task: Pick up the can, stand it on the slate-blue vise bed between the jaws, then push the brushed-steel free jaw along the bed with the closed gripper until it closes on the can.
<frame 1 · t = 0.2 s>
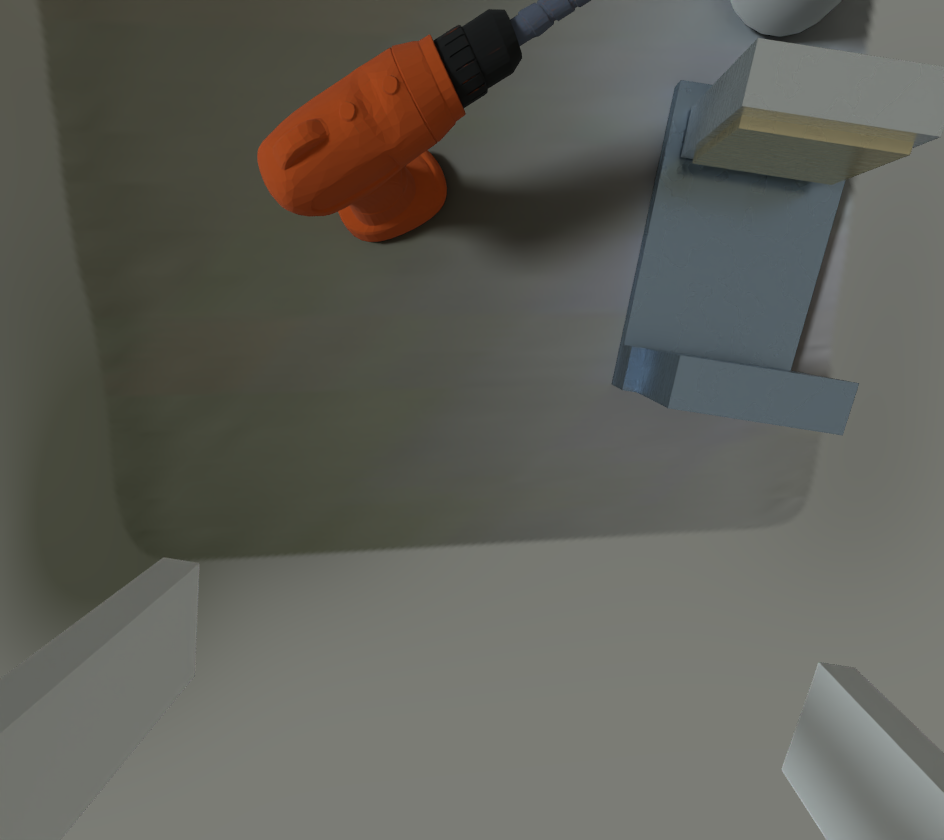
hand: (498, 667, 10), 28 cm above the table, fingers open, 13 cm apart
free jaw: (798, 125, 28), point 5 cm above the table, slide at 0.0 cm
toy drill: (451, 169, 34), on the table
vise bed: (725, 257, 35), on the table
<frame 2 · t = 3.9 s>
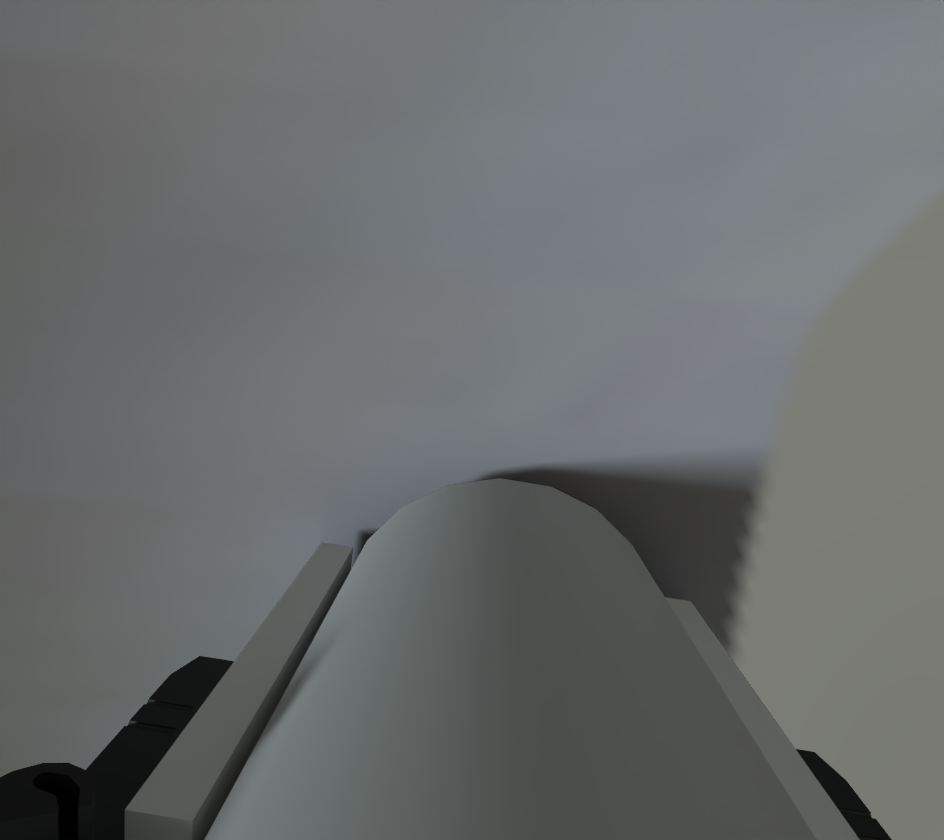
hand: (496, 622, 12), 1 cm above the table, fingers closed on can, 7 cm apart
can: (496, 602, 13), on the table, touching gripper
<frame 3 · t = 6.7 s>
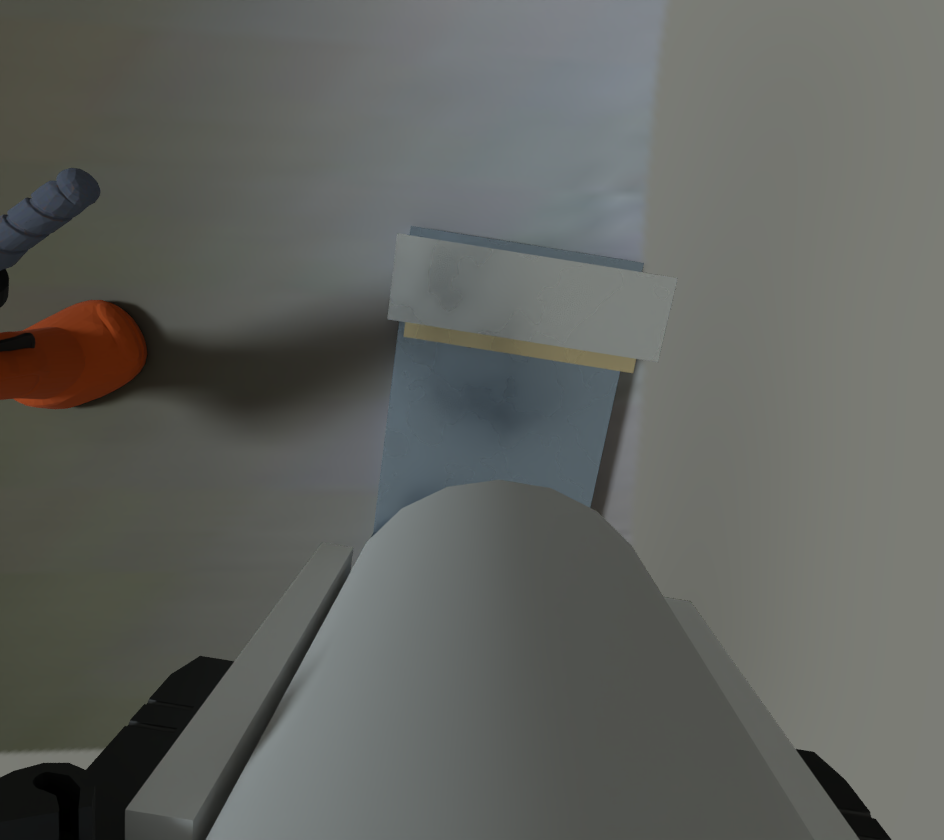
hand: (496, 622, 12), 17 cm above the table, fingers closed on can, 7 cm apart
free jaw: (521, 309, 22), point 5 cm above the table, slide at 0.0 cm
toy drill: (152, 321, 28), on the table
can: (496, 603, 13), point 16 cm above the table, touching gripper
vise bed: (494, 429, 28), on the table
when the fingers open (3 cm above the table, at t = 9.6 s): can drops 1 cm, resting on vise bed.
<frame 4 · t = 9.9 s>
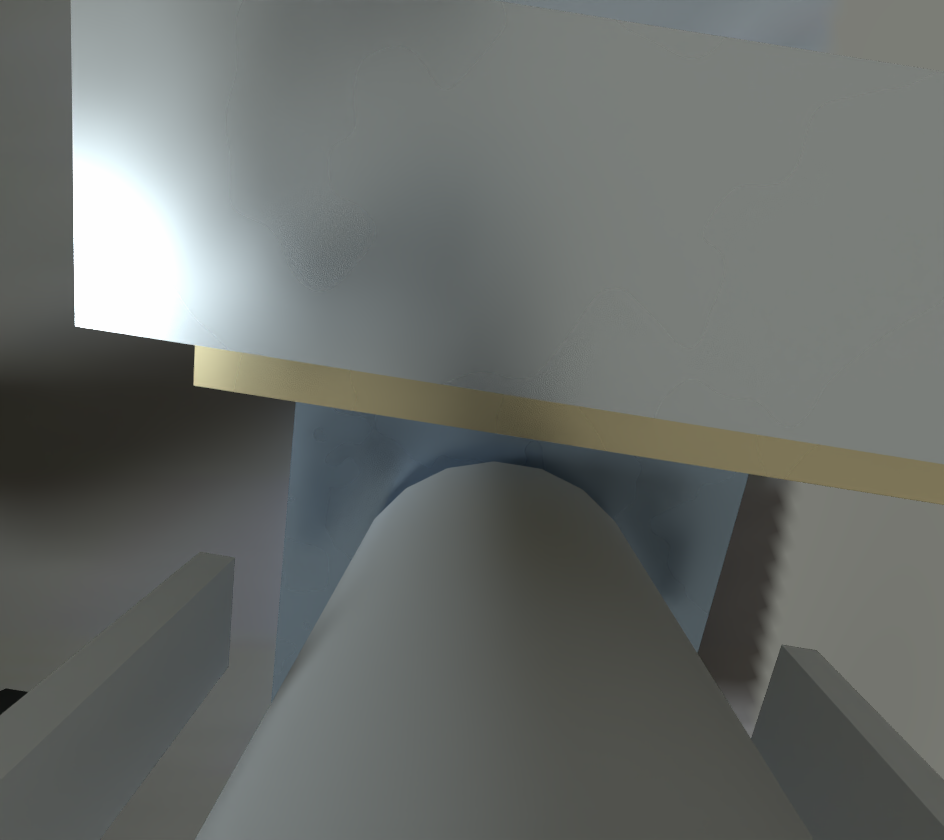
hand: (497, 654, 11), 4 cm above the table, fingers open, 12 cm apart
free jaw: (576, 295, 8), point 5 cm above the table, slide at 0.0 cm
can: (492, 577, 14), point 1 cm above the table, touching vise bed
vise bed: (500, 534, 15), on the table
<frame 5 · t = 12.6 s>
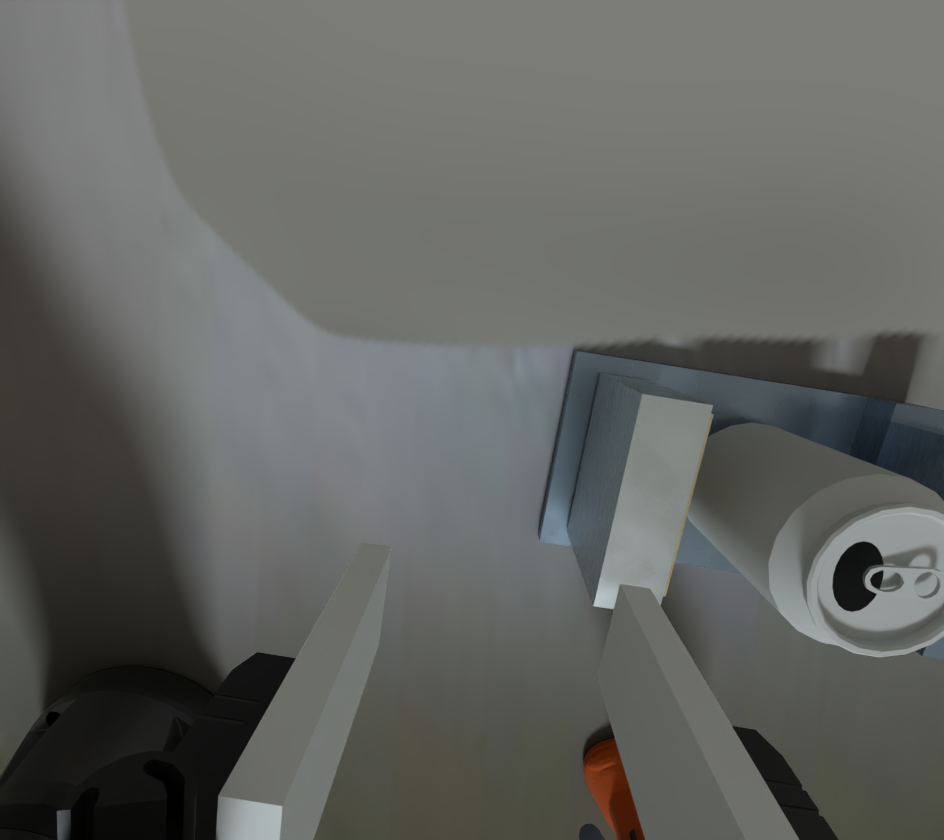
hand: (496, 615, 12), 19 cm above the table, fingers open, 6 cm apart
free jaw: (631, 481, 26), point 5 cm above the table, slide at 0.0 cm
toy drill: (599, 729, 35), on the table
can: (735, 479, 30), point 1 cm above the table, touching vise bed
vise bed: (714, 471, 31), on the table
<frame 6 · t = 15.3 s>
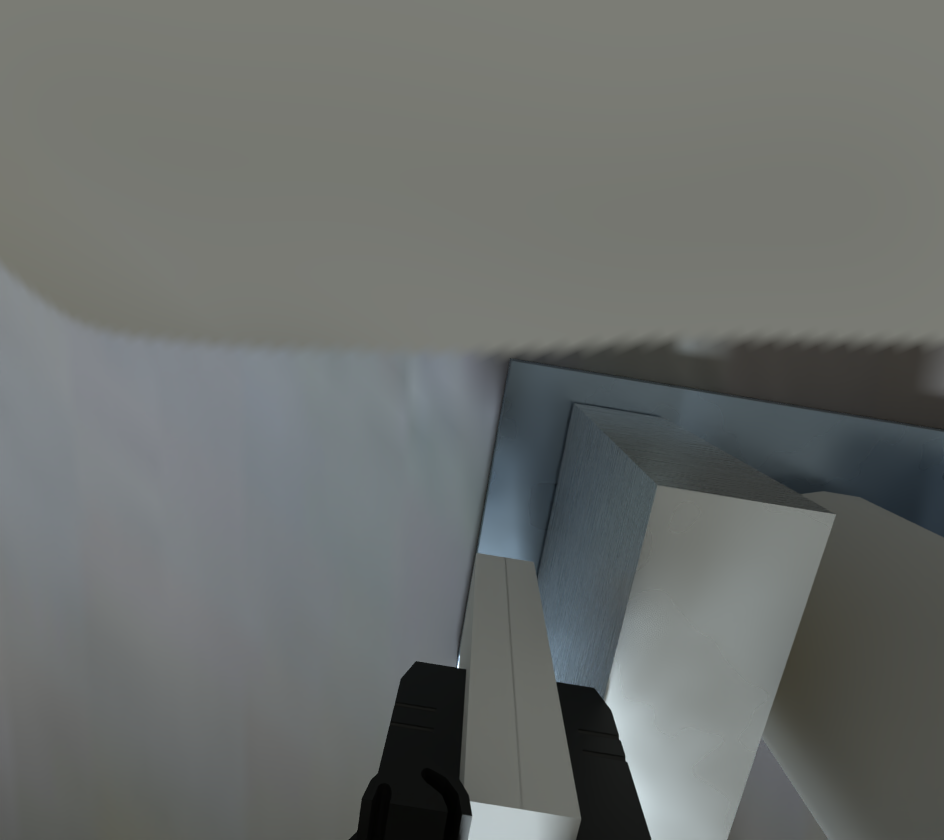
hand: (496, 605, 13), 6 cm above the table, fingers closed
free jaw: (628, 622, 13), point 5 cm above the table, slide at 0.7 cm, touching gripper
can: (787, 581, 17), point 1 cm above the table, touching vise bed
vise bed: (748, 563, 18), on the table
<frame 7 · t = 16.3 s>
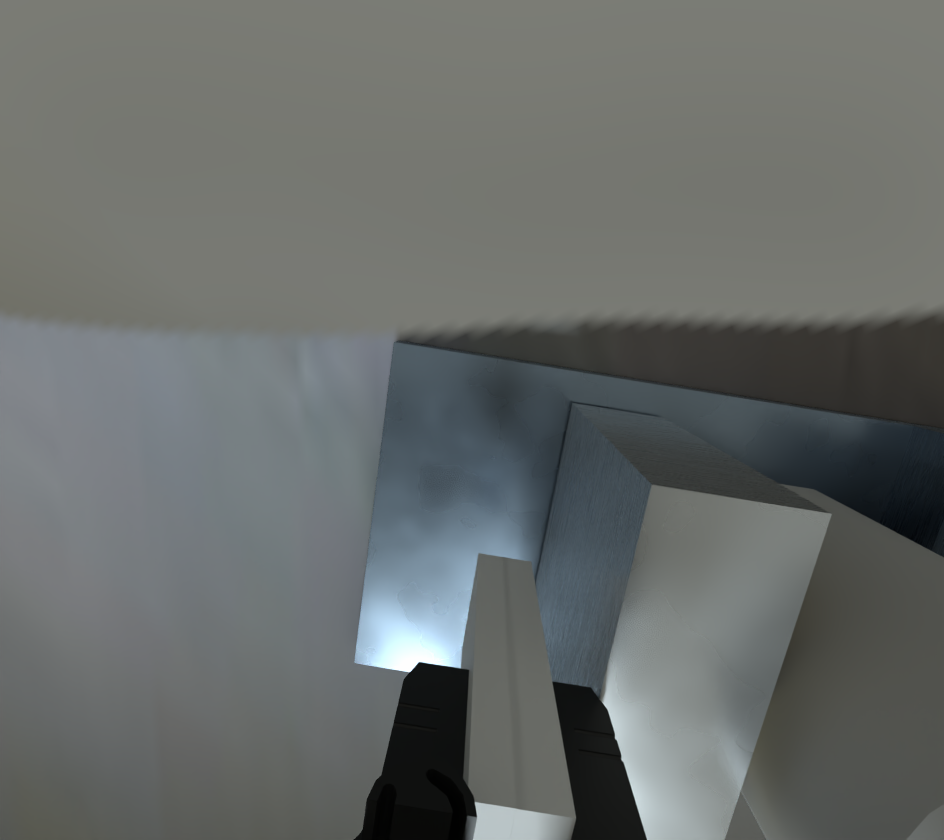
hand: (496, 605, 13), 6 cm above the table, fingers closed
free jaw: (626, 622, 13), point 5 cm above the table, slide at 4.5 cm, touching can, gripper
can: (746, 574, 17), point 1 cm above the table, touching free jaw, vise bed
vise bed: (647, 546, 18), on the table
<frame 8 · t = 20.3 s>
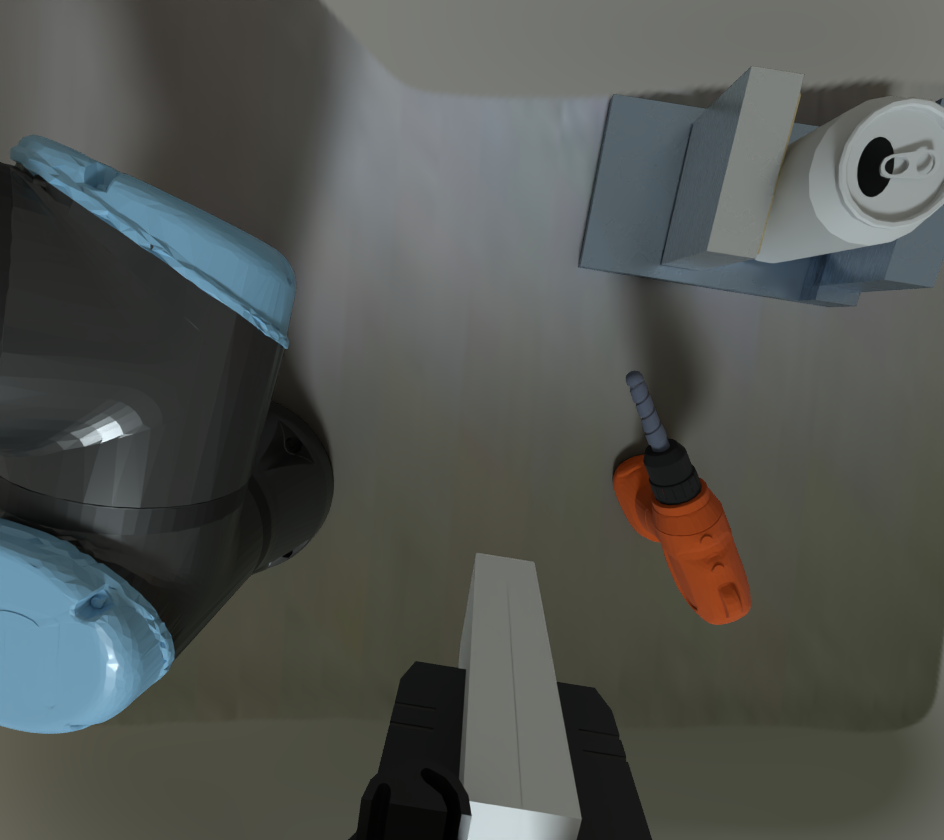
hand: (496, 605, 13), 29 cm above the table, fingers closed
free jaw: (726, 184, 33), point 5 cm above the table, slide at 4.5 cm
toy drill: (626, 449, 42), on the table
can: (771, 212, 37), point 1 cm above the table, touching vise bed
vise bed: (723, 206, 38), on the table
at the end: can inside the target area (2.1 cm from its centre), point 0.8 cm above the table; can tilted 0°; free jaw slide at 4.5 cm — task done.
